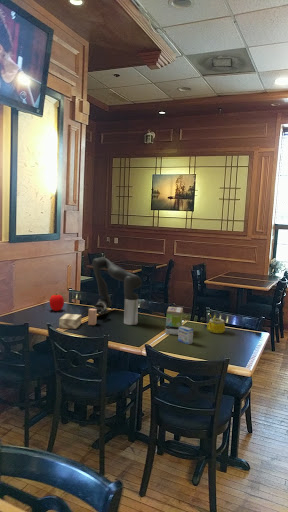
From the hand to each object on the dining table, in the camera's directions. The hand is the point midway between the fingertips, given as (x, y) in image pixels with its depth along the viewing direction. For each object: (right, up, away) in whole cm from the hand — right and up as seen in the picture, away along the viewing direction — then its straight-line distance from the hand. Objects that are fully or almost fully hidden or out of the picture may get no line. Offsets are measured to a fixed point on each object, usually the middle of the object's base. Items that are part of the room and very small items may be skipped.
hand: (94, 312), depth 254 cm
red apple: (-33, -3, +26) cm, 42 cm away
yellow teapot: (+81, -11, -13) cm, 82 cm away
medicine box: (+58, -12, -37) cm, 70 cm away
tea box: (+53, -10, -15) cm, 56 cm away
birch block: (-15, -6, -12) cm, 20 cm away
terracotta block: (-1, -7, -7) cm, 9 cm away
